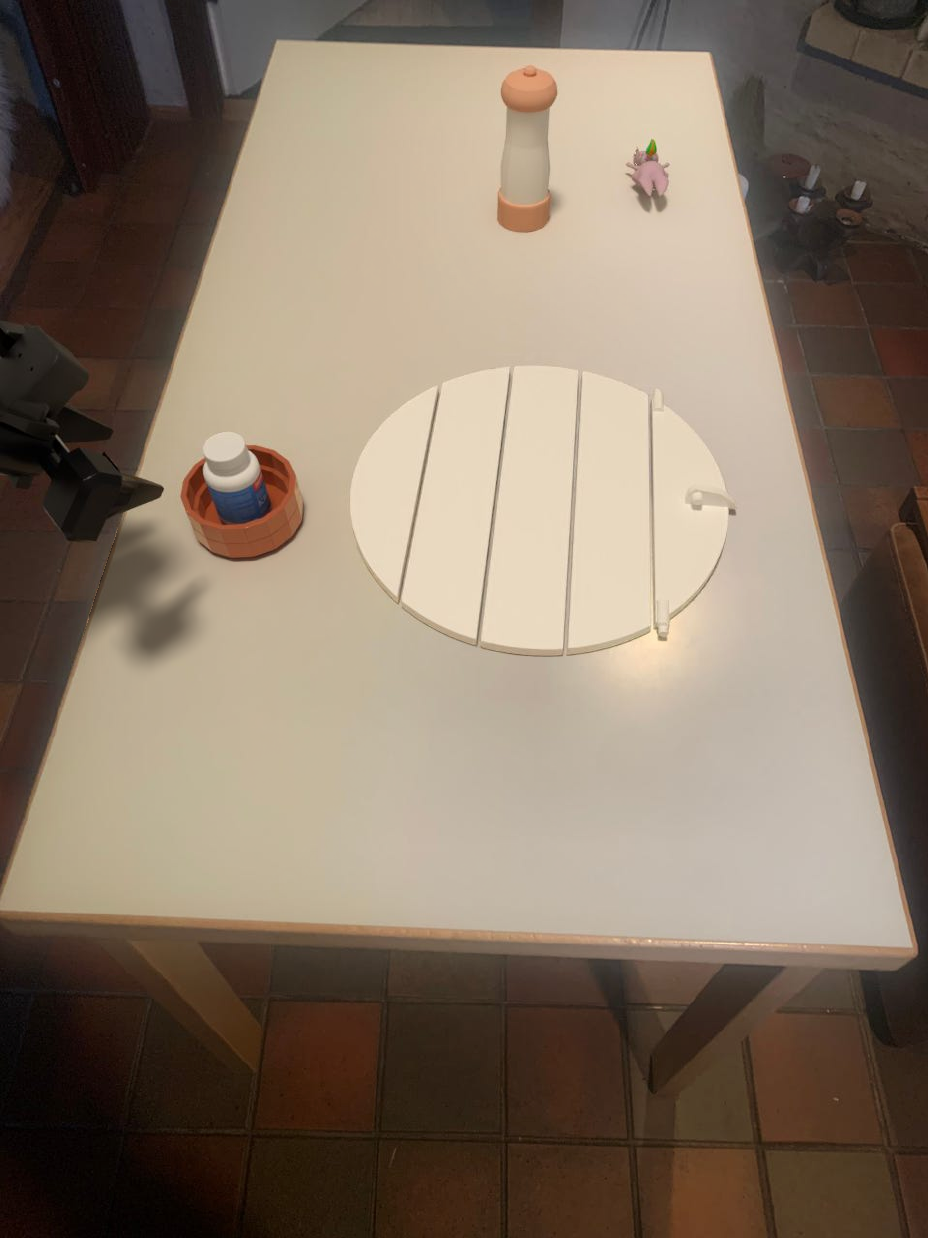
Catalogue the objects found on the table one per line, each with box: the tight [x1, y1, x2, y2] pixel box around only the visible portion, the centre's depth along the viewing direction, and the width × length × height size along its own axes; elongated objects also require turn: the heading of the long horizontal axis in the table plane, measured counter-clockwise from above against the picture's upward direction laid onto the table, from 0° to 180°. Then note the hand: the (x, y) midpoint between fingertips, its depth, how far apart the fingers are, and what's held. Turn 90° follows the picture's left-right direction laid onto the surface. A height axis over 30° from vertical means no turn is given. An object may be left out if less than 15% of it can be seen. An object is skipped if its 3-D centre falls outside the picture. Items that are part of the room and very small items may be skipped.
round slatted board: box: [349, 365, 738, 657], centre depth 87 cm, size 40×39×3 cm
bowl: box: [179, 444, 304, 559], centre depth 85 cm, size 11×11×5 cm
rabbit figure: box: [625, 138, 670, 197], centre depth 119 cm, size 6×6×15 cm
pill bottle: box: [202, 431, 272, 525], centre depth 83 cm, size 6×5×10 cm
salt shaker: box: [496, 64, 558, 233], centre depth 110 cm, size 7×7×19 cm
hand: (135, 462), depth 73 cm, fingers open, 9 cm apart
